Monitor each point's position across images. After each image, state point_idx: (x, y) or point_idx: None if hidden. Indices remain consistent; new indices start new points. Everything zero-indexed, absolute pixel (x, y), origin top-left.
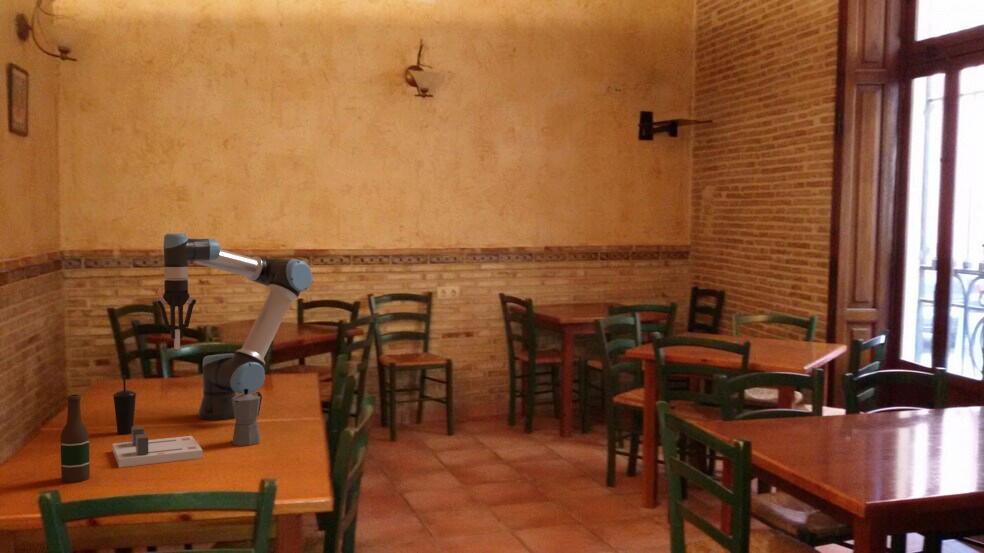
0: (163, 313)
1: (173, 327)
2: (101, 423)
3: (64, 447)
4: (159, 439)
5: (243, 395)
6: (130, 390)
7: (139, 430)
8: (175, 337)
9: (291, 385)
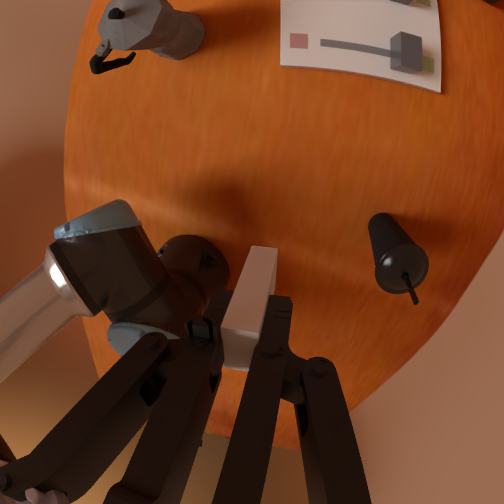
0: (354, 492)
1: (269, 352)
2: (386, 311)
3: None
4: (353, 67)
5: (130, 8)
6: (391, 273)
7: (408, 33)
8: (266, 291)
9: (109, 362)
